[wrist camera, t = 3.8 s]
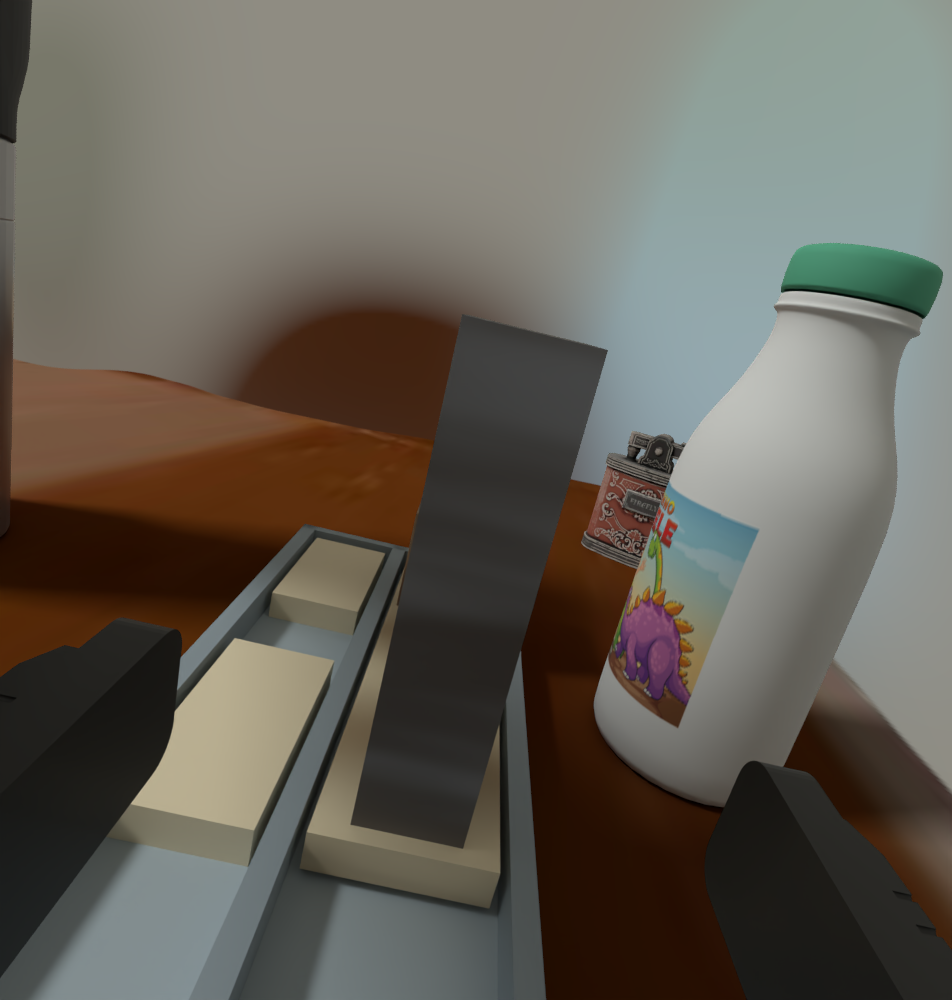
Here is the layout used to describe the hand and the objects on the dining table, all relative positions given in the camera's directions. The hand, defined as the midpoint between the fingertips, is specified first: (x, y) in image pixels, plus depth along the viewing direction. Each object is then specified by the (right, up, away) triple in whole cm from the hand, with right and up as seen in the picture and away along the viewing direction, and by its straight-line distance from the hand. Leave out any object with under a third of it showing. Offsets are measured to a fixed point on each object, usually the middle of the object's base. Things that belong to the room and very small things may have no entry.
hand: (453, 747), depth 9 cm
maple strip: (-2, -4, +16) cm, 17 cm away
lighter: (+12, -1, +40) cm, 42 cm away
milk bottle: (+9, -7, +18) cm, 21 cm away
